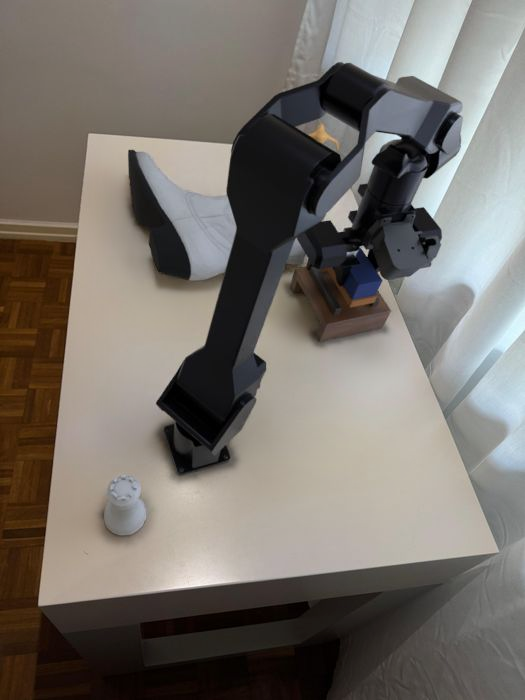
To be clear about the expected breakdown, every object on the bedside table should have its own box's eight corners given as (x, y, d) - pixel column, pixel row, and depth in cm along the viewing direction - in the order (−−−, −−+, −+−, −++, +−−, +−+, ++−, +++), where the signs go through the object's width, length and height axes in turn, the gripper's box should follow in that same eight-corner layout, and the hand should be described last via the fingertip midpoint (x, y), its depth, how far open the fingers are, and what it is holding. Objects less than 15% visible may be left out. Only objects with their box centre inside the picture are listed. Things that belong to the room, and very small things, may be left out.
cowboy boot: (158, 258, 75) (329, 241, 83) (120, 122, 88) (272, 119, 96) (155, 301, 83) (311, 282, 91) (121, 171, 96) (261, 164, 104)
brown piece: (382, 328, 85) (395, 303, 81) (319, 342, 82) (329, 317, 77) (349, 275, 91) (360, 249, 87) (289, 286, 87) (297, 260, 83)
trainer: (374, 302, 80) (384, 281, 77) (349, 307, 78) (358, 286, 75) (346, 257, 84) (354, 236, 81) (322, 261, 83) (329, 240, 80)
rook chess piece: (131, 489, 64) (130, 457, 58) (154, 520, 63) (155, 490, 56) (95, 513, 62) (90, 482, 56) (119, 545, 60) (116, 517, 54)
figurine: (325, 173, 107) (342, 114, 97) (329, 194, 103) (348, 134, 94) (281, 168, 105) (295, 108, 96) (284, 189, 102) (298, 128, 92)
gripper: (353, 247, 61) (317, 338, 73) (490, 225, 67) (436, 312, 79) (310, 182, 66) (283, 276, 79) (440, 167, 73) (397, 256, 85)
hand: (352, 281), depth 80 cm, fingers closed on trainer, 4 cm apart
